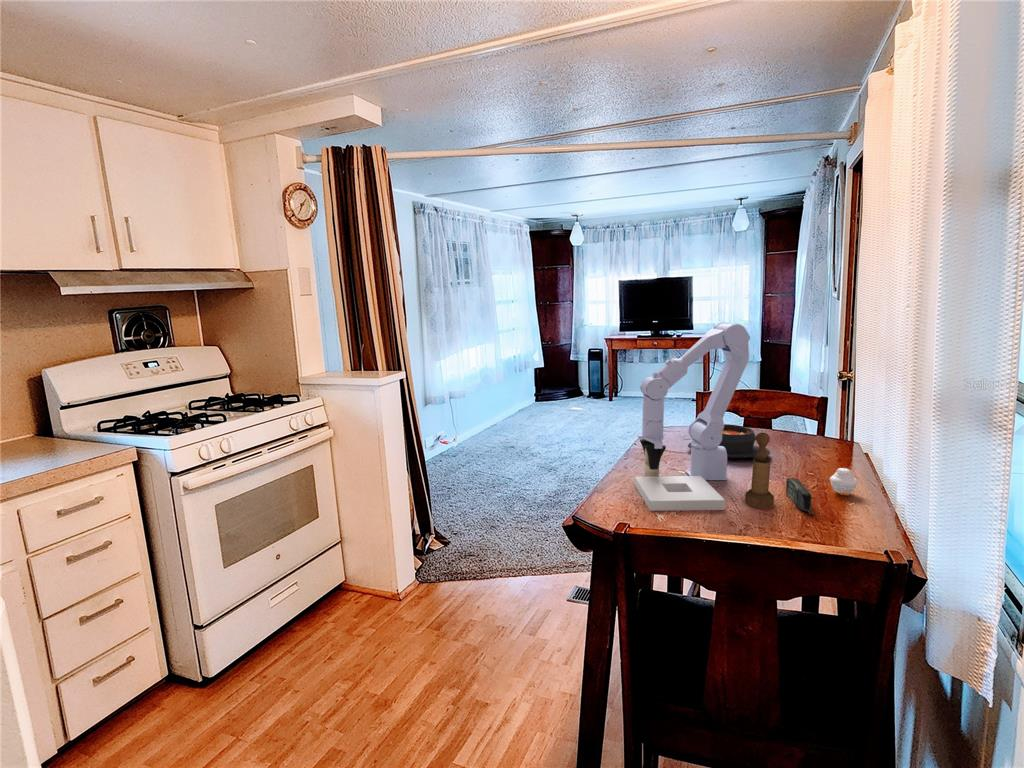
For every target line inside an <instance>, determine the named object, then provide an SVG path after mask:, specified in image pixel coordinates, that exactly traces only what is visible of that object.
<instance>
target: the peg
mask: <svg viewBox="0 0 1024 768" xmlns="http://www.w3.org/2000/svg"><path fill="white" fill-rule="evenodd" d="M656 476H660V466H659V467H658V469H650V467H649V461H648V454H647V451H646V448H645V455H644V476H643V477H656Z"/></svg>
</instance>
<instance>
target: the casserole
mask: <svg viewBox="0 0 1024 768" xmlns="http://www.w3.org/2000/svg"><path fill="white" fill-rule="evenodd" d="M756 436H757V435H756V434H755V431H754V430H753V429H752V428H750V427H746V426H744V425H743V426H742V425H737V424H725V423H724V429H723V431H722V441H721V443H720V444H719V446H724V447H725V449H726V452H727V459H728V458H732V459H733V460H734V459H735V458H738V459H744V458H758V454H757V450H759V445H758V446H757V445H755V441H756ZM691 443H692V441H691V442H689V443H688V444H687V447H688V448H689V449H690V450H691ZM765 449H766V451H767V455H766V457H767V456H769V455H770V454H771V451H770V450H769V449H768V448H765ZM735 460H736V459H735Z"/></svg>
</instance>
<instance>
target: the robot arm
mask: <svg viewBox="0 0 1024 768" xmlns="http://www.w3.org/2000/svg"><path fill="white" fill-rule="evenodd" d="M750 339H751V336H750V334H749V332H748V330H747V328H746V327H745V326H743V325H742V324H739V323H728V322H719V323H717V324H716V325H714V326H713V328H711V329H708V331H706V333H704V335H703V336H702V337H701V338H700V339H699V340H698V341H696V342H695V344H693V345H692V346H691V347H690V348H689V349H687V351H686V352H685V353H684V354H683V355H682V356H680V357H679V358H676V357H675V358H674V357H673V358H672V359H667V360H665V361H664V362H665V364H664V365H663V366H662V367H661V368H660V369H658V370H657V371H654V372H652V374H651V375H652V376H648V377H646V378H645V379H644V380H643V381H642V382H641V385H640V386H639V389H640V391H641V394H642V395H643V398H642V428H641V430H642V431H641V432H642V433H641V434H640V433H639V434H637V438H638V439H639V442H640V444H641V447H642V450H643V455H644V456H645V448H646V451H647V454H648V461H649V467H650V469H658V467H659V468H660V463H661V459H662V456H663V454H664V452H665V450H666V449H667V447H666V445H665V444H663V443H664V442H663V441H664V439H665V438H664V437H665V435H664V419H665V418H664V416H665V415H664V413H665V398H666V396H667V395H668V391H669V389H670V388H672V387H673V386H674V385H676V383H678V382H679V381H680V380H681V379H682V378H684V377H685V376H686V375H687V374H688V371H689V370H688V368H689V367H690V366H692V364H694V363H696V362H697V361H698V360H700V359H701V358H702V357H703V356H705V355H707V353H709V352H710V351H711V350H719V349H721V350H722V352H723V354H724V356H725V358H726V360H725V362H724V365H723V367H722V369H721V372H720V374H719V377H718V378H717V380H716V382H715V385H714V387H713V389H712V392H711V394H710V396H709V398H708V401H707V402H706V406H705V407H704V410H702V411H701V412H699V414H697V417H696V418H695V419H694V421H692V422H691V423H690V424H689V426H688V435H689V437H690V438H691V440H692V441H691V442H692V443H691V442H690V443H691V449H690V468H689V469H686V470H685V473H686V474H687V476H702V477H703V478H704V479H705V481H727V480H728V477H727V475H728V474H727V472H728V471H727V470H728V469H727V468H728V458H727V452H726V449H725V447H724V446H719V444H720V443H721V441H722V431H723V429H724V424H725V422H724V416H725V414H726V412H727V410H728V407H729V405H730V403H731V401H732V398H733V396H734V394H735V391H736V390H737V387H738V385H739V383H740V381H741V378H742V376H743V374H744V372H745V370H746V367H747V365H748V362H749V360H750V350H749V349H750V348H749V341H750Z"/></svg>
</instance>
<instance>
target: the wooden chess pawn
mask: <svg viewBox="0 0 1024 768" xmlns="http://www.w3.org/2000/svg"><path fill="white" fill-rule="evenodd" d="M755 436H756V440H755V441H756V442H757V444H758V446H759V450H757V454H758V457H753V459H752V474H751V487H750V489H749V490H747V491H746V492H745V496H744V502H745V503H746V505H748V506H751V507H754V508H758V509H771V508H773V506H774V502H775V501H774V500H775V496H774V495H773V494H772V493H771V491H769V488H770V474H771V473H770V472H771V460H769V459H767V456H766V455H767V451H766V449H767V448H766V447H767V445H768V444H769V442H770V435H769V434H768V433H766V432H760V433H758V434H757V435H755ZM765 448H766V449H765Z"/></svg>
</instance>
